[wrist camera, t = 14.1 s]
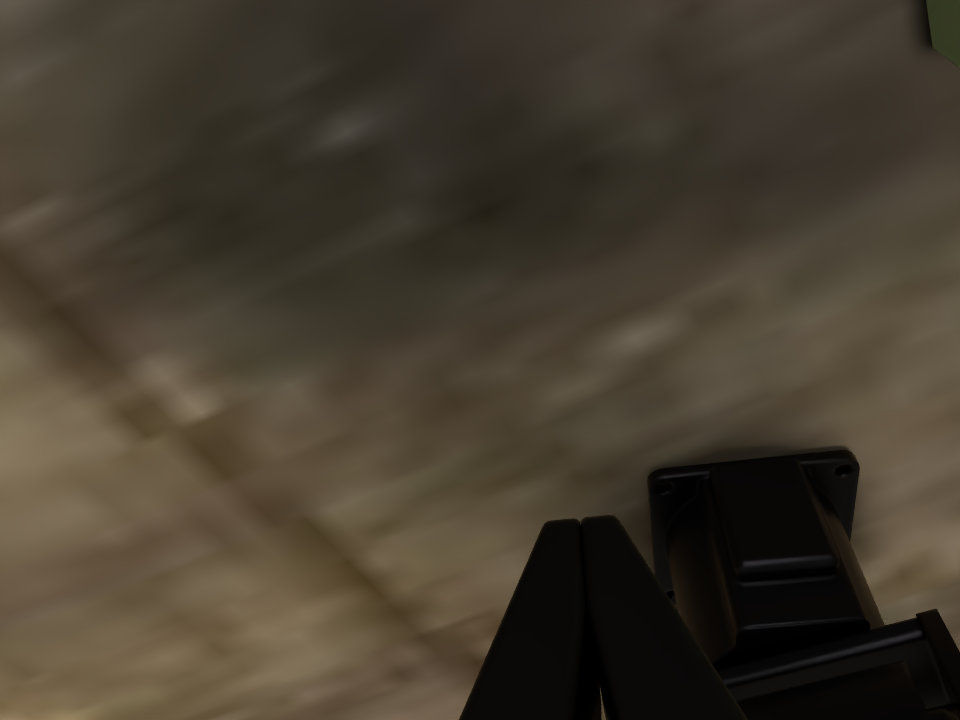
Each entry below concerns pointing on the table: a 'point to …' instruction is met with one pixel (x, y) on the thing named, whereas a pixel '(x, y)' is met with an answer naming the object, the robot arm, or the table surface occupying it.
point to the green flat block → (945, 28)
